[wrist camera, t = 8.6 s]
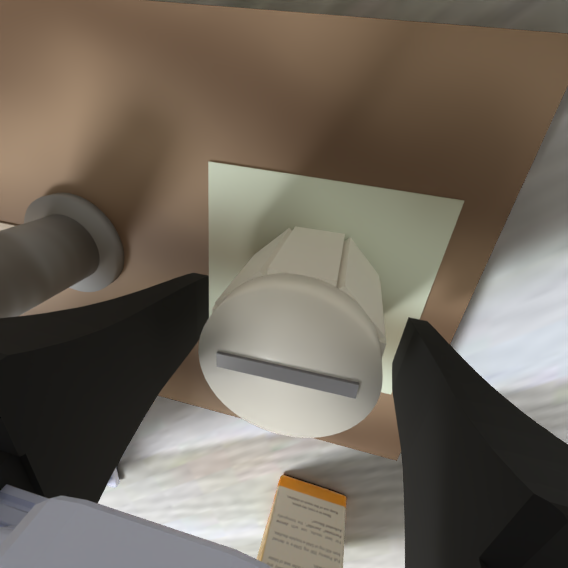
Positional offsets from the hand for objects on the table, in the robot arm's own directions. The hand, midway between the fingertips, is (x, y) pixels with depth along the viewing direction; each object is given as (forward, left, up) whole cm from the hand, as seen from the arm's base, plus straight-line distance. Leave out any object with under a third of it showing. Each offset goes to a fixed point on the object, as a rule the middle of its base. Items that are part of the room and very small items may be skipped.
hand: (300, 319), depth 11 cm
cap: (0, 0, -2) cm, 2 cm away
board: (0, +6, -3) cm, 7 cm away
